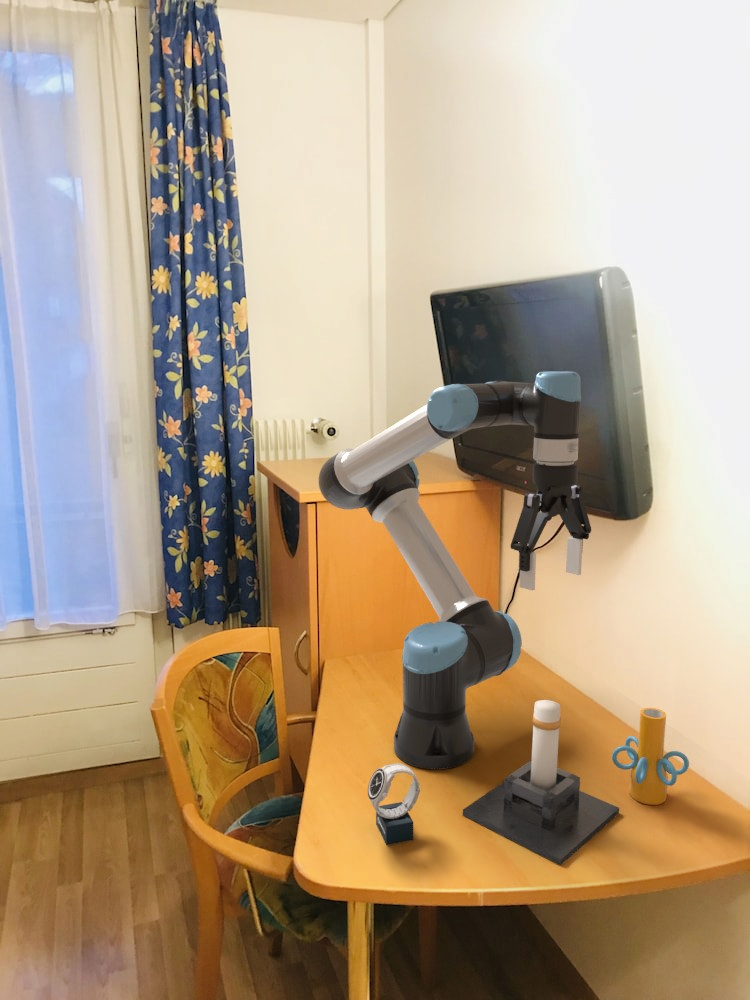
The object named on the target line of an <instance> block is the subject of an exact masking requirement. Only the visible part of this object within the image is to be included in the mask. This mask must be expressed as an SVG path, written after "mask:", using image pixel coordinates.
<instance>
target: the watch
mask: <svg viewBox="0 0 750 1000" xmlns="http://www.w3.org/2000/svg"><path fill="white" fill-rule="evenodd" d="M397 774H407V775H410V776H412V778H413V779H412V781H411V784H410V787H409V790H408V792H407V794H406V795H405V797H404V798H403V802H402V801H400V802H394V803H389V804H383V805H380V804H381V802H383V801H384V800H385V799H386V798H387V797H388V796H389V792H390V790H391V786H392V781H393V780H394V778H395V776H396V775H397ZM420 792H421V789H420V781H419V779H418V778H417V776H416V773H414V771H413V769H412V768H410V767H409V766H407V765H406V764H402V763H390V764H386V765H384V766H383V767H380V768H377V769H376V770H374V772H373V773H372V775H371V777H370V779H369V782H368V786H367V797H368V799H369V801H370V803H371V805H372V807H373V809H374V811H375V825H376V827H377V829H378V831H379V833H380V835H381V837H382V839H383V841H384V843H385V845H386V846H390V845H396V844H401V843H405V842H408V841H409V842H410V841H414V821H413V818H412V817H411V815H410V813H409V812H411V810H412V809H413V808H414V806H415V804H416V803H417V800H418V798H419V795H420Z"/></svg>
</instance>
